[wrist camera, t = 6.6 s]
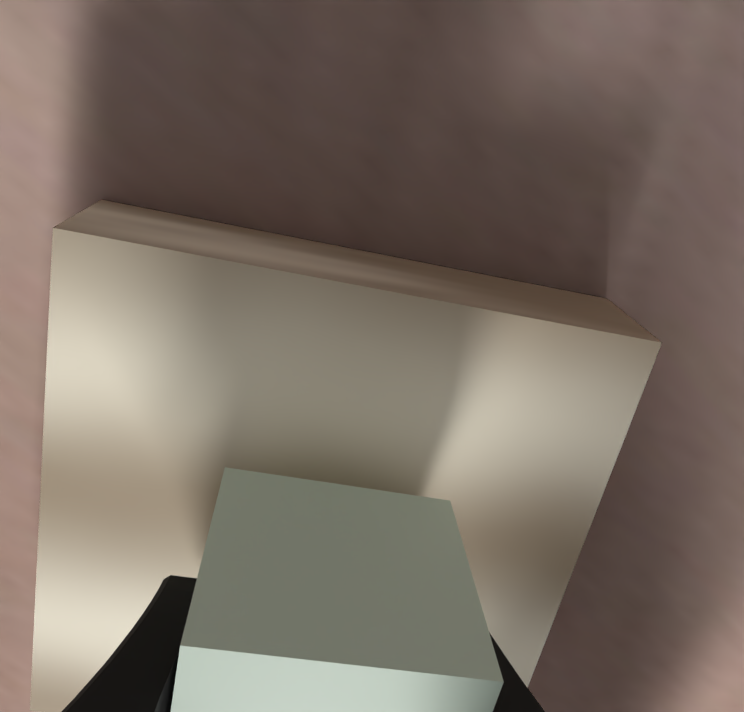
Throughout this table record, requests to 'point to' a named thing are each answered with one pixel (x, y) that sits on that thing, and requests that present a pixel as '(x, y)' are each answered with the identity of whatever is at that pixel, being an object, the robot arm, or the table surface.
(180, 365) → the birch block
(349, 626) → the green cube
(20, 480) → the table surface
